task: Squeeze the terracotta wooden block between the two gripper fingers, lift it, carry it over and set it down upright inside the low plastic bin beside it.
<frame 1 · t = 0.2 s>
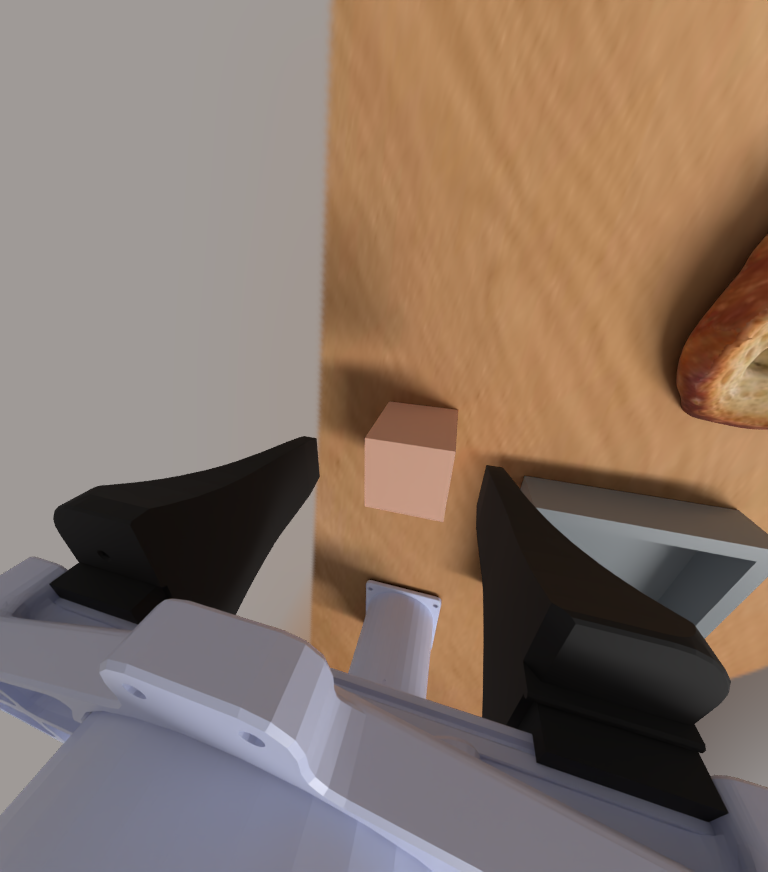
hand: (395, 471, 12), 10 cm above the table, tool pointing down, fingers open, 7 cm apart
block: (419, 435, 22), on the table
bin: (589, 556, 23), on the table
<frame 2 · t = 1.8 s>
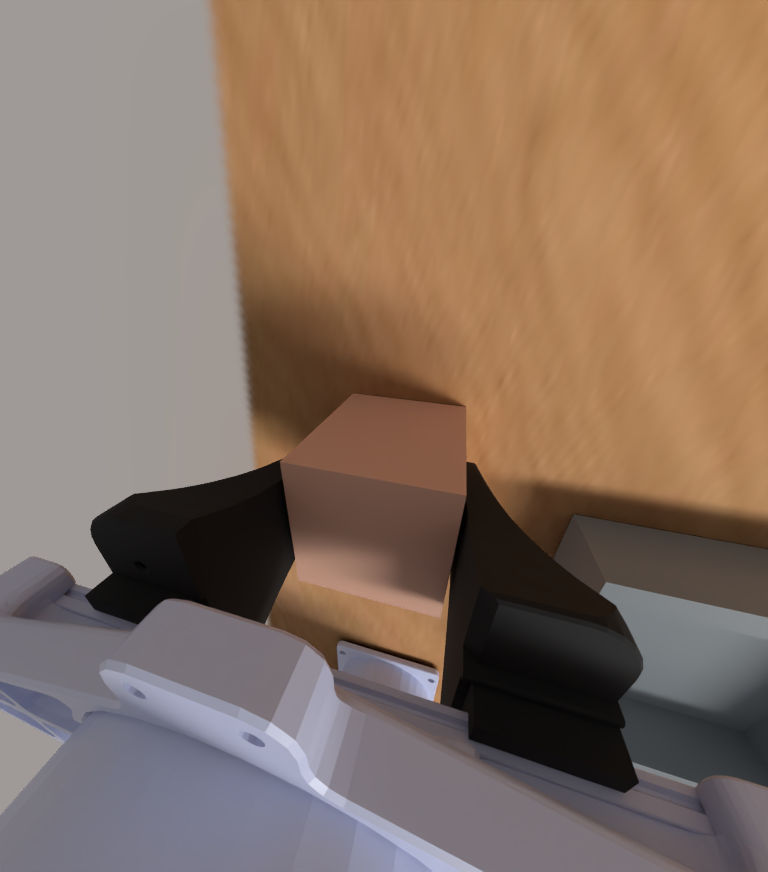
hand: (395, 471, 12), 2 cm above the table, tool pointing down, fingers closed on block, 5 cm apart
block: (403, 449, 14), on the table, touching gripper
bin: (669, 635, 15), on the table
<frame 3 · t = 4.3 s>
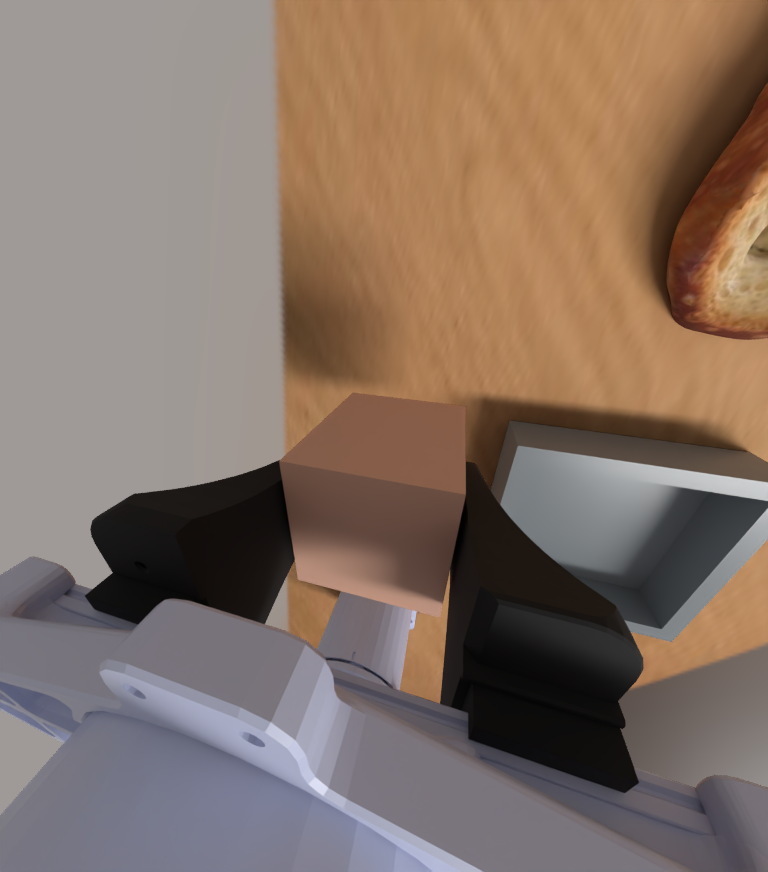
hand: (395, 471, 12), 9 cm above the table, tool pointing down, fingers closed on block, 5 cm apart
block: (403, 448, 14), point 7 cm above the table, touching gripper
bin: (582, 514, 21), on the table
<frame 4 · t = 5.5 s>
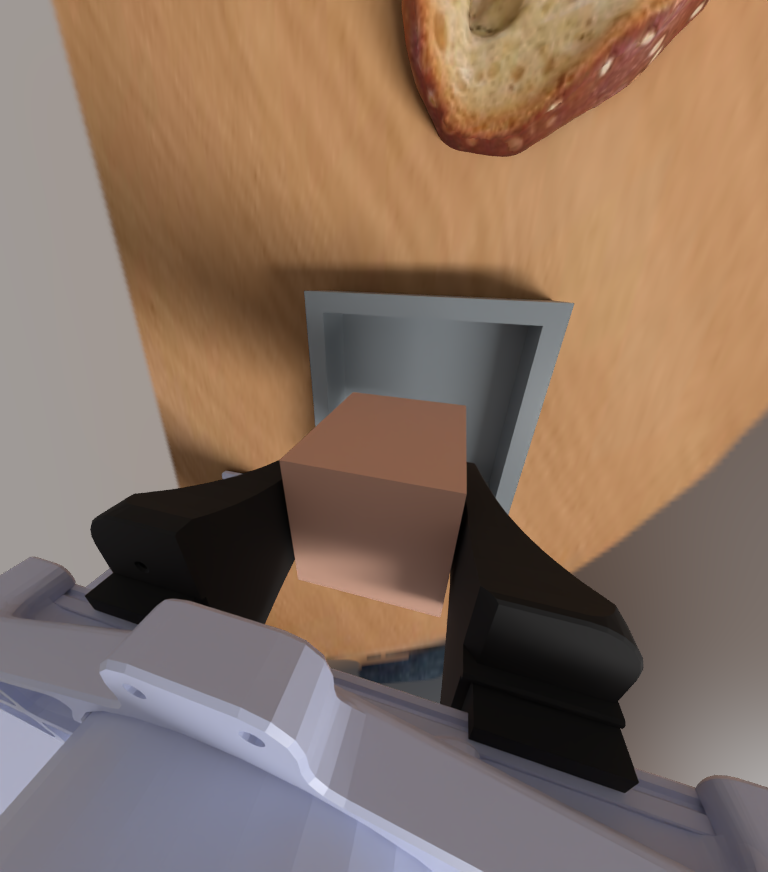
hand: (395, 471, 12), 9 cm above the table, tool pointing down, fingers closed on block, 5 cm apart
block: (403, 448, 14), point 7 cm above the table, touching gripper
bin: (422, 399, 20), on the table
when the fingers open (4 cm above the table, at t = 6.9 s): block drops 1 cm, resting on bin.
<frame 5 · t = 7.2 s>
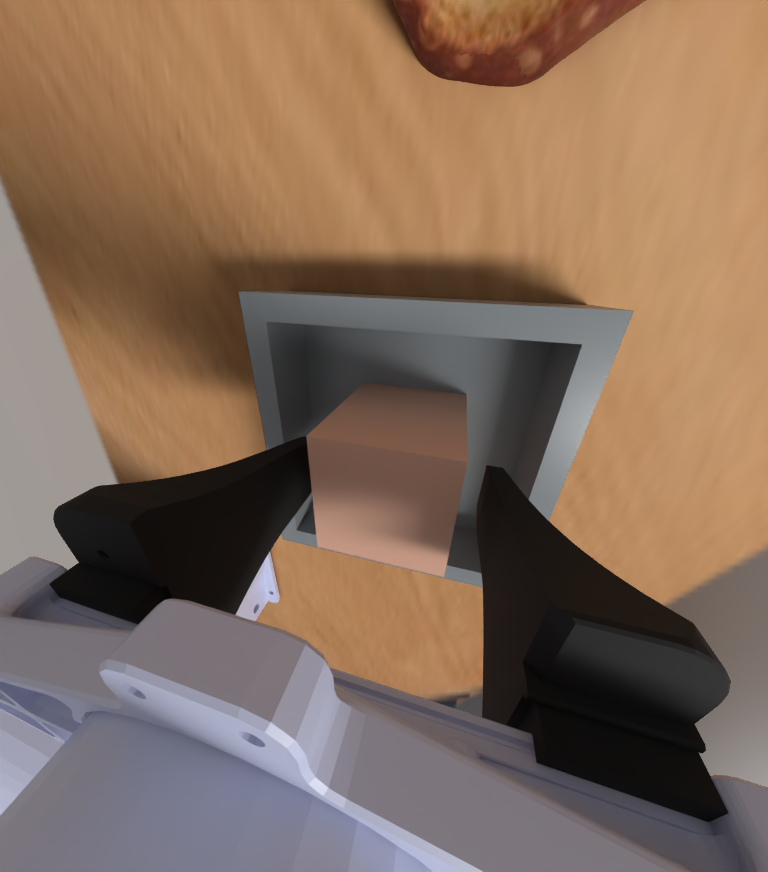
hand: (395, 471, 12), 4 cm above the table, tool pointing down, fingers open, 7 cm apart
block: (409, 434, 15), point 1 cm above the table, touching bin
bin: (410, 430, 16), on the table
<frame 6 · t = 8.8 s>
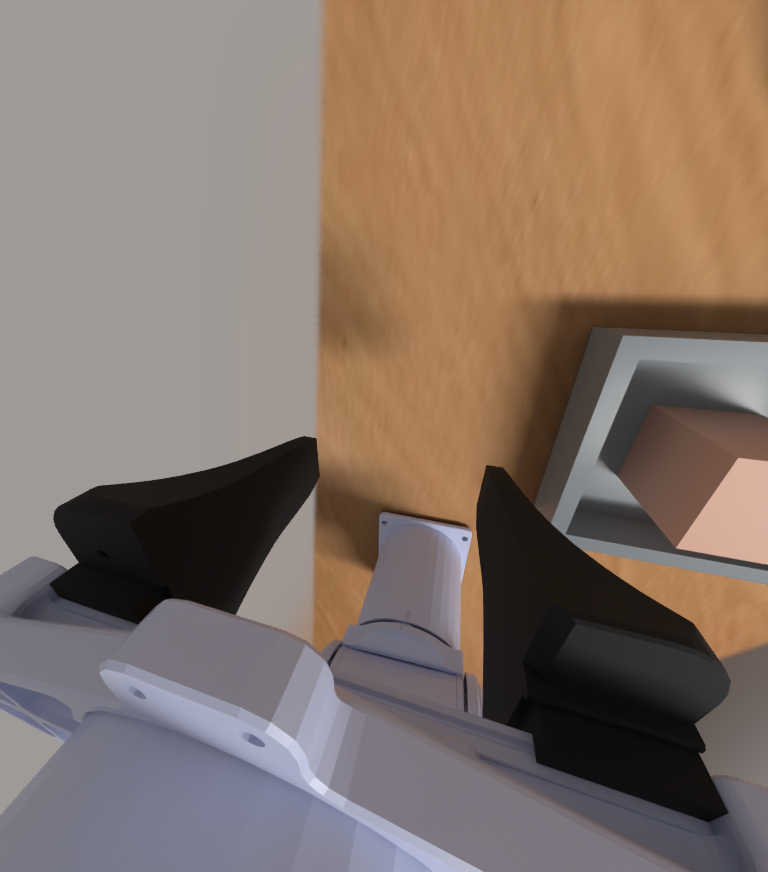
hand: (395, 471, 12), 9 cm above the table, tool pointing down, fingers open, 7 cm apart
block: (681, 448, 17), point 1 cm above the table, touching bin
bin: (674, 444, 18), on the table
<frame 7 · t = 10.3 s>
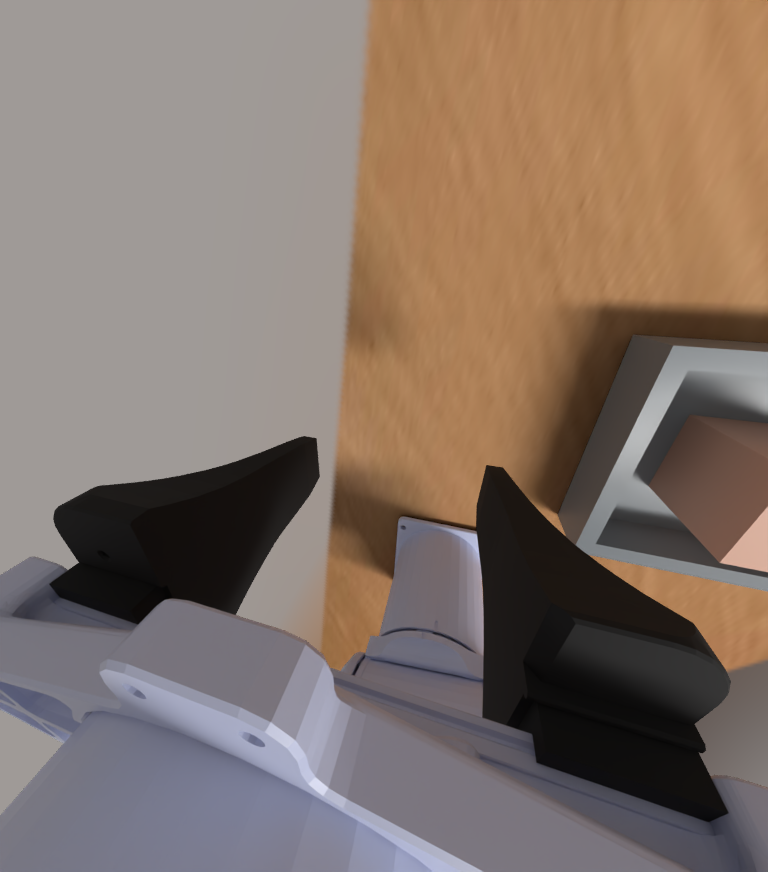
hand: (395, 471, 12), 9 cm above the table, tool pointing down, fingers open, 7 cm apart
block: (717, 459, 17), point 1 cm above the table, touching bin
bin: (708, 455, 17), on the table
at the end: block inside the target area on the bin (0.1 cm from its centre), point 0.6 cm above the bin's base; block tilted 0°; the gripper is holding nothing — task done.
